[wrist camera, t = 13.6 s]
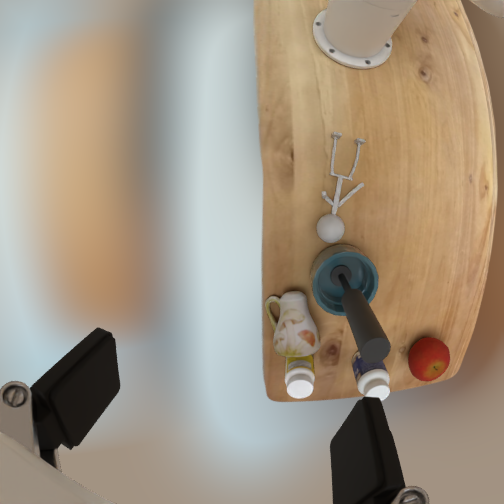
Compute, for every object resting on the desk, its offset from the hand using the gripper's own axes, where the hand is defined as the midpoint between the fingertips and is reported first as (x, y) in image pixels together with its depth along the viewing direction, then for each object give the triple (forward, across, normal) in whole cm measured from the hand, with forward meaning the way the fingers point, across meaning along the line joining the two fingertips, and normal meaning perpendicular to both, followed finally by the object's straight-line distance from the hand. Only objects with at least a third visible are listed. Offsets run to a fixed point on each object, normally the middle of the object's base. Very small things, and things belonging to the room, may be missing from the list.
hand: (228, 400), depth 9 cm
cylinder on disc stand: (+32, -11, +4) cm, 34 cm away
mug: (+32, -6, +12) cm, 35 cm away
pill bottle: (+32, -21, +18) cm, 43 cm away
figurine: (+32, -8, -8) cm, 34 cm away
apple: (+32, -32, +14) cm, 47 cm away
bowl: (+32, -11, +4) cm, 34 cm away
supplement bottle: (+32, -9, +20) cm, 39 cm away
